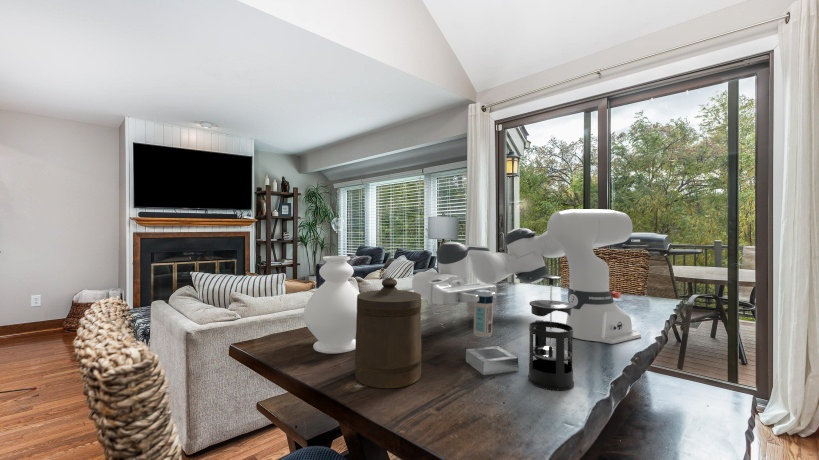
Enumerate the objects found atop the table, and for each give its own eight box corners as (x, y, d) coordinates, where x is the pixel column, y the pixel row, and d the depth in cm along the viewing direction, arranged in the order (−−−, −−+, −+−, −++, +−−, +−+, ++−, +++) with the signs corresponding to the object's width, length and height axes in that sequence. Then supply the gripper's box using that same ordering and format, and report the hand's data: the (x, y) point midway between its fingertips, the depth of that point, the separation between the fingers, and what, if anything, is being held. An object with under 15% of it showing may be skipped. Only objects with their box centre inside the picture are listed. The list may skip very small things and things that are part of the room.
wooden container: (425, 365, 90) (425, 274, 90) (415, 392, 75) (415, 283, 75) (366, 361, 92) (366, 273, 92) (345, 386, 78) (345, 281, 78)
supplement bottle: (490, 333, 101) (491, 289, 100) (493, 338, 96) (494, 292, 95) (472, 332, 101) (474, 288, 101) (474, 338, 96) (475, 292, 96)
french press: (584, 391, 76) (585, 279, 75) (539, 393, 75) (540, 279, 75) (557, 369, 87) (558, 272, 87) (518, 370, 87) (519, 272, 86)
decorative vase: (377, 351, 100) (377, 258, 100) (310, 361, 92) (310, 260, 92) (357, 333, 116) (357, 253, 116) (298, 341, 108) (298, 255, 108)
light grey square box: (497, 357, 95) (497, 346, 95) (518, 370, 86) (518, 357, 86) (465, 361, 92) (466, 349, 92) (483, 375, 84) (483, 362, 84)
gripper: (475, 297, 115) (511, 304, 104) (423, 305, 103) (457, 314, 92) (475, 276, 115) (511, 282, 103) (423, 282, 103) (458, 289, 92)
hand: (486, 297), depth 97 cm, fingers closed on supplement bottle, 5 cm apart
